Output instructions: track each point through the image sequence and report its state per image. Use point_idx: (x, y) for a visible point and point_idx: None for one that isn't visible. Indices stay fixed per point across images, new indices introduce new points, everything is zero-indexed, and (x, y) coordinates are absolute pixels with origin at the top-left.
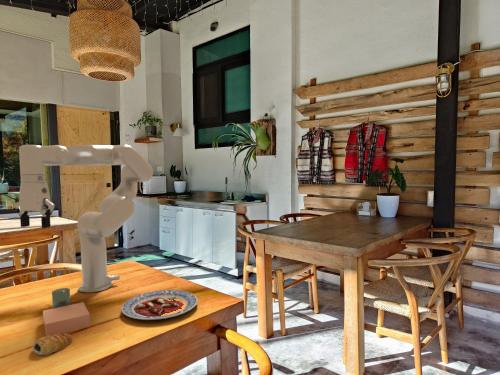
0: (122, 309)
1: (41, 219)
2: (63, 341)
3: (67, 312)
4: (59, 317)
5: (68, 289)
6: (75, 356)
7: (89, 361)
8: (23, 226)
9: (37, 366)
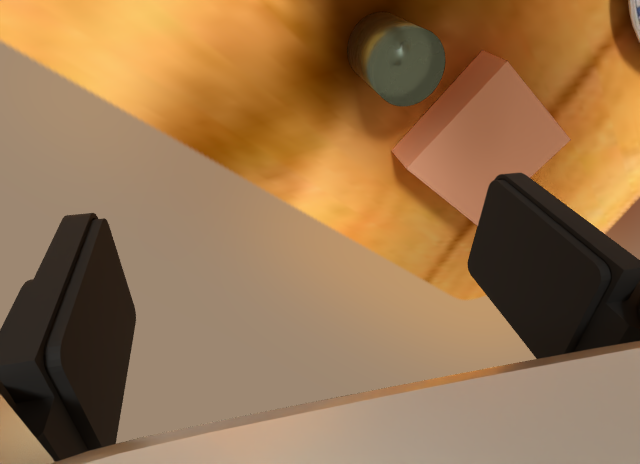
0: (637, 22)
1: (538, 353)
2: None
3: (497, 152)
4: None
5: (435, 44)
6: None
7: None
8: (132, 306)
9: None
